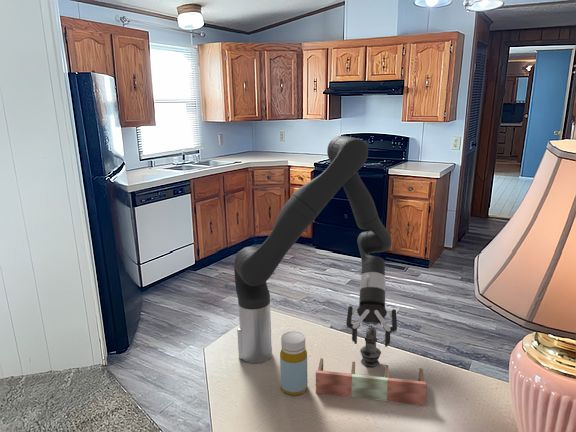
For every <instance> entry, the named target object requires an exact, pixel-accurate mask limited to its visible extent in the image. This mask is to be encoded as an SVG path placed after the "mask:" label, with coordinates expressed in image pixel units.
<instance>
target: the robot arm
mask: <svg viewBox="0 0 576 432" xmlns="http://www.w3.org/2000/svg"><path fill="white" fill-rule="evenodd" d="M368 147H369V146H368V145H367V143H366V142H365V141H364V140H362V139H360V138H357V137H352V136H347V135H337V136H334V137H333V138H332V139H331V140H330V141H329V143H328V145H327V151H326V153H327V158H328V160H329V162H330V163H329V165H328V166H327V168H326V169H325V170H324V171H322V173H320V174H319V175H317V176H316V177H315V178H313V179H311V180H310V181H308V182H307V183H305V184H303V185H302V186H301V187H299V188H298V189H297V190H296V191H294V193H293V194H292V195H291V197H290V198H289V199H288V200H287V201H286V202H285V204H283V206H282V208H281V209H280V211H279V212H278V215H277V218H276V220H275V222H274V225H273V228H272V229H271V232H270V234H269V235H268V236H267V238H266V239H265V240H264V242H262V243H261V245H260V246H259V247H258V248H257V247H255V246H245V247H243V248H242V249H240V250H239V251H238V252H237V254H236V256H235V257H234V261H233V262H234V263H233V270H234V282H235V283H234V284H235V292H236V297H237V303H238V304H237V305H238V319H239V320H238V321H239V323H238V324H239V327H238V328H237V350H238V359H240V360H243V361H244V362H247V363H249V364H261V363H264V362H267V361H268V360H269V359H271V357H272V355H273V352H272V351H273V349H272V348H273V347H272V320H271V319H272V317H271V315H272V314H271V295H270V291H269V288H268V283H267V281H268V280H269V279H270V278H271V277H272V275H273V274H274V272H275V271H276V269H277V268H278V267H279V265H280V263H281V262H282V260H283V259H284V257H285V256H286V254H287V253H288V252H289V250H291V248H292V247H293V246H294V244H295V243H297V241H298V239H299V238H300V237H301V236H302V235H303V233H304V232H305V231H306V230H307V229H308V228H309V227H310V226H311V224H312V223H314V221H315V220H316V218H317V217H319V215H320V213H321V212H322V211H323V209H324V208H325V207H326V206H327V205H328V204H329V202H331V200H332V199H333V198H334V196H335V195H336V194H337V193H338V192H339V191H340V190H341V188H342V187H343V190H344V192H345V194H346V197H347V198H348V202H349V205H350V207H351V210H352V214H353V217H354V220H355V222H356V225H357V227H358V228H359V229H360V230H363V231H362V232H360V233H359V234H358V237H357V239H356V240H357V241H356V242H357V243H356V244H357V247H358V250H359V254H360V261H361V277H360V283H359V299H358V301H359V302H358V303H359V305H358V307H353V306H351V305H350V306H348V308H347V314H346V315H347V316H346V325H345V326H346V328H347V329H350V330H351V340H352V342H353V343H354V344H355V345H357V344H358V329H359V328H360V327H361V326H362V325H363V324H366V325H374V326H377V325H379V326H380V327H381V328H382V330H383V331H384V332H385V333H384V348H388V346H390V344H391V334H392V333H396V332H397V331H398V323H397V322H398V321H397V310H396V309H394V308H393V309H392V310H387V308H386V290H387V289H386V279H385V276H386V275H385V274H386V264H385V260H384V258H382V257H380V256H377V255H371V254H374V253H384V252H388V251H389V250H390V249H391V247H392V243H393V242H392V237H391V235H390V233H389V231H388V230H387V228H386V226H385V225H384V224H383V222H382V221H381V219H380V217H379V214H378V211H377V208H376V204H375V201H374V199H373V197H372V195H371V193H370V192H369V190H368V188H367V186H366V185H365V183H364V182H363V180H362V178H361V177H360V174H359V172H358V171H359V170H361V168H362V167H363V166H364V165H365V163H366V162H367V160H368V155H369V148H368ZM356 313H357V314H358V316H359V317H358V318H357V320H356V321H355V322H354V324H353V323H352V321H353V316H355V314H356ZM386 316H388V318H389V319H391V326H389V325H388V323H387V321H386V320H385V317H386Z"/></svg>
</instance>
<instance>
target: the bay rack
mask: <svg viewBox="0 0 576 432" xmlns="http://www.w3.org/2000/svg"><path fill="white" fill-rule="evenodd" d="M350 371H351V372H350V373H347V372H339V371H338V372H337V371H331V370H330V371H328V370H324V358H322V357H321V358H319V363H318V368H317V369H316V370H315V394H325V395H331V396H341V397H350V398H358V399H366V400H367V399H368V400H377V401H382V402H383V401H386V402H393V403H400V404H401V403H402V404H409V405H418V406H426V398H427V397H426V396H427V381H425V377H424V373H423V372H424V371H423V368H421V367H420V368H418V378H417V379H418V380H415V379H413V380H412V379H403V378H395V377H390V376H389V365H388V364H385V365H384V376H374V375H366V374H365V375H364V374H356V361H351V370H350Z"/></svg>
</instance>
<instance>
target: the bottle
mask: <svg viewBox="0 0 576 432" xmlns="http://www.w3.org/2000/svg"><path fill="white" fill-rule="evenodd" d="M280 341H281V342H280V343H281V350H280V352H279V365H280V367H279V368H280V370H279V372H280V389H281V390H282V391H283V392H284V394H287V395H290V396H299V395H301V394H303V393H305V391H306V390H307V389H308V351H307V349H306V335H305V334H304V333H303V332H301V331H299V330H289V331H287V332H284V333H283V334H282V335H281V338H280Z"/></svg>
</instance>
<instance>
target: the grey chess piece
mask: <svg viewBox="0 0 576 432" xmlns="http://www.w3.org/2000/svg"><path fill="white" fill-rule="evenodd" d="M365 333H366V334H365V338H364V341H365V346H363V347H361V348H360V351H359V352H360V355H361V357H362V358H361V360H360V364H361V365H362V366H363V367H366V368H369V369H373V368H374V369H375V368H378V367H379V366H380V360H379V358H380V357H381V355H382V351H381V350H380V348H379V347H377V342H378V338H377V329H376V328H375V327H374V326H373V324H370V326H369V327H367V328H366V331H365Z"/></svg>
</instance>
